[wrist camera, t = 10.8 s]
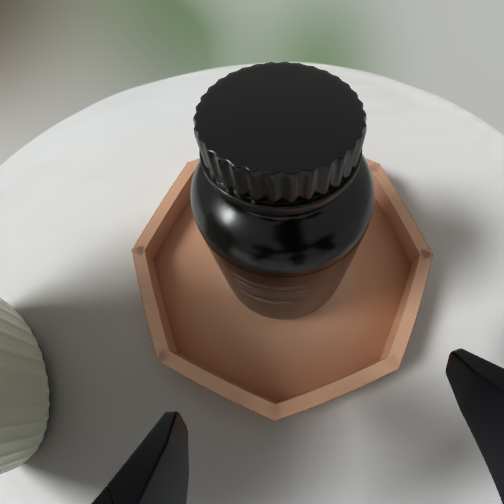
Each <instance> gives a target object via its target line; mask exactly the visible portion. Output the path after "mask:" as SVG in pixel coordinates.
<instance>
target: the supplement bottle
mask: <svg viewBox="0 0 504 504" xmlns="http://www.w3.org/2000/svg"><path fill="white" fill-rule="evenodd" d="M193 121H194V125H195V127H194V134H195V137H196V140H197V143H198V146H199V149H200V160H199V162H198V164H197V166H196V168H195V171H194V174H193V178H192V183H191V191H190V198H191V208H192V212H193V216H194V219H195V221H196V224H197V226H198V229H199V231H200V233H201V235H202V237H203V238H204V240H205V242H206V244H207V246H208V248H209V250H210V251H211V253H212V255H213V257H214V259H215V261H216V262H217V264H218V266H219V268H220V270H221V272H222V273H223V275H224V277H225V279H226V281H227V282H228V284H229V286H230V288H231V289H232V291H233V293H234V294H235V295H236V297H237V298H238V299H239V300H240V301H241V302H242V303H243V304H244V305H245V306H246V307H247V308H249V309H250V310H252V311H253V312H255V313H257V314H259V315H262V316H264V317H268V318H272V319H278V320H290V319H297V318H300V317H304V316H306V315H309V314H311V313H313V312H315V311H316V310H318V309H319V308H321V307H322V306H323V305H324V304H325V303H326V302H327V301H328V300H329V299H330V298H331V297H332V296H333V294H334V293H335V291H336V290H337V288H338V286H339V284H340V283H341V281H342V279H343V277H344V275H345V273H346V271H347V269H348V267H349V265H350V263H351V261H352V259H353V257H354V255H355V253H356V251H357V249H358V247H359V245H360V243H361V241H362V239H363V237H364V235H365V233H366V231H367V228H368V226H369V223H370V220H371V217H372V214H373V210H374V203H375V187H374V181H373V177H372V173H371V171H370V168H369V165H368V163H367V161H366V159H365V157H364V156H363V154H362V146H363V142H364V138H365V134H366V113H365V111H364V110H363V103H362V102H361V101H360V100H359V99H358V95H357V93H356V92H354V91H353V90H352V89H351V88H350V86H349V84H347V83H345V82H343V81H342V80H341V79H340V78H339V77H337V76H334V75H332V74H330V73H329V72H327V71H325V70H320V69H318V68H316V67H314V66H306V65H303V64H300V63H288V62H280V63H274V62H269V63H265V64H256V65H253V66H251V67H245V68H242V69H240V70H238V71H236V72H232V73H229V74H228V75H227V76H226V77H224V78H222V79H219V80H218V81H217V82H216V84H214V85H213V86H211V87H209V88H208V91H207V93H205V94H204V95H203V96H202V97H201V102H200V103H199V104H198V105H197V106H196V114H195V116H194V118H193Z"/></svg>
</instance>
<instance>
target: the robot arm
mask: <svg viewBox="0 0 504 504" xmlns="http://www.w3.org/2000/svg"><path fill="white" fill-rule="evenodd" d="M446 375H447V378H448V380H449V382H450V385H451V387H452V390H453V392H454V395H455V398H456V400H457V403H458V405H459V408H460V410H461V412H462V414H463V416H464V418H465V420H466V422H467V424H468V426H469V428H470V430H471V432H472V434H473V436H474V438H475V440H476V442H477V445H478V447H479V449H480V451H481V453H482V455H483V457H484V460H485V462H486V464H487V466H488V469H489V471H490V473H491V476H492V478H493V480H494V483H495V485H496V488H497V490H498V492H499V495H500V497H501V500H502V503H503V504H504V369H503V368H501V367H499V366H497V365H495V364H493V363H491V362H489V361H487V360H485V359H483V358H480V357H478V356H476V355H474V354H472V353H470V352H468V351H466V350H464V349H457V350H455V351H452V352H451V353H450V355H449V359H448V363H447V367H446ZM188 478H189V458H188V431H187V427H186V425H185V423H184V421H183V419H182V417H181V416H180V414H179V413H178V412H176V411H175V412H166V413H164V414H163V416H162V417H161V418H160V420H159V421H158V422H157V423H156V425H155V426H154V427H153V429H152V430H151V431H150V432H149V434H148V435H147V436H146V438H145V439H144V440H143V441H142V443H141V444H140V445H139V446H138V448H137V449H136V450H135V451H134V453H133V454H132V455H131V456H130V458H129V459H128V460H127V461H126V463H125V464H124V465H123V466H122V468H121V469H120V470H119V471H118V473H117V474H116V475H115V476H114V478H113V479H112V480H111V481H110V483H109V484H108V487H107V486H106V487H105V489H104V490H103V491H102V492H101V493H100V495H99V496H98V497H97V498H96V499H95V500H94V501H93V503H92V504H186V501H187V489H188Z"/></svg>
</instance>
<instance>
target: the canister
mask: <svg viewBox="0 0 504 504" xmlns="http://www.w3.org/2000/svg"><path fill="white" fill-rule="evenodd" d="M49 392H50V390H49V387H48V376H47V374H46V364H45V363H44V361H43V357H42V352H41V350H40V349H39V347H38V342H37V340H36V338H35V337H34V336H33V333H32V330H31V329H30V327H29V326H28V325H27V324H26V322H25V320H24V319H23V318H22V316H21V315H20V314H19V313H17V312H16V311H15V310H14V309H13V307H12V306H10V305H9V304H8V303H7V302H5V301H4V300H2V299H1V298H0V474H2V473H5V472H7V471H10V470H12V469H14V468H17V467H18V466H20V465H21V464H23V463H24V462H26V461H27V460H29V459H30V458H31V456H32V455H33V454H34V453H35V452H36V451H37V450H38V448H39V444H40V443H41V442H42V441H43V438H44V432H45V431H46V429H47V420H48V418H49V406H50V402H49Z"/></svg>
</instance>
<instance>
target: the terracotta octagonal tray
mask: <svg viewBox="0 0 504 504" xmlns="http://www.w3.org/2000/svg"><path fill="white" fill-rule="evenodd" d="M365 159H366V158H365ZM199 160H200V158H199V159H196V160H194V161H191V162H188V163H187V164H186V166H185V167H184V168H183V170H182V171H181V173H180V174H179V176H178V177H177V179H176V180H175V182H174V183H173V185H172V186H171V188H170V189H169V191H168V193H167V194H166V196H165V197H164V199H163V200H162V202H161V203H160V205H159V207H158V208H157V210H156V211H155V213H154V214H153V216H152V218H151V219H150V221H149V223H148V224H147V226H146V227H145V229H144V231H143V232H142V234H141V236H140V237H139V239H138V241H137V242H136V244H135V246H134V248H133V249H132V253H133V259H134V264H135V269H136V274H137V279H138V283H139V288H140V293H141V297H142V302H143V306H144V310H145V314H146V318H147V323H148V327H149V330H150V334H151V338H152V342H153V346H154V349H155V353H156V357H157V361H158V362H160V363H162V364H164V365H166V366H167V367H169V368H171V369H172V370H174V371H176V372H178V373H179V374H181V375H183V376H185V377H187V378H188V379H190V380H192V381H194V382H196V383H198V384H199V385H201V386H203V387H205V388H207V389H209V390H211V391H213V392H215V393H217V394H218V395H220V396H222V397H224V398H226V399H228V400H230V401H232V402H235V403H237V404H239V405H241V406H243V407H245V408H247V409H249V410H251V411H253V412H256V413H258V414H260V415H262V416H265V417H267V418H269V419H271V420H273V421H276V420H279V419H282V418H284V417H287V416H290V415H293V414H296V413H298V412H301V411H304V410H306V409H309V408H312V407H314V406H317V405H319V404H322V403H324V402H327V401H329V400H332V399H334V398H336V397H339V396H341V395H343V394H346V393H348V392H350V391H353V390H355V389H357V388H359V387H361V386H364V385H366V384H368V383H370V382H372V381H374V380H376V379H378V378H380V377H382V376H384V375H387V374H389V373H390V372H392V371H394V370H398V368H399V366H400V363H401V360H402V358H403V355H404V352H405V349H406V346H407V344H408V341H409V338H410V335H411V332H412V329H413V325H414V322H415V319H416V316H417V313H418V309H419V306H420V302H421V299H422V295H423V292H424V288H425V284H426V280H427V277H428V273H429V268H430V264H431V260H432V256H433V254H432V253H431V251H430V249H429V247H428V245H427V243H426V241H425V239H424V237H423V235H422V234H421V232H420V230H419V228H418V226H417V225H416V223H415V221H414V219H413V218H412V216H411V214H410V212H409V211H408V209H407V207H406V206H405V204H404V202H403V201H402V199H401V197H400V196H399V194H398V192H397V191H396V189H395V187H394V186H393V184H392V183H391V181H390V180H389V178H388V176H387V175H386V173H385V172H384V170H383V169H382V167H381V166H380V164H379V163H376V162H374V161H371V160H369V159H366V161H367V163H368V165H369V168H370V171H371V173H372V177H373V181H374V187H375V203H374V210H373V214H372V217H371V220H370V223H369V226H368V228H367V231H366V233H365V235H364V237H363V239H362V241H361V243H360V245H359V247H358V249H357V251H356V253H355V255H354V257H353V259H352V261H351V263H350V265H349V267H348V269H347V271H346V273H345V275H344V277H343V279H342V281H341V283H340V284H339V286H338V288H337V290H336V291H335V293H334V294H333V296H332V297H331V298H330V299H329V300H328V301H327V302H326V303H325V304H324V305H323V306H322V307H321V308H319V309H318V310H316V311H315V312H313V313H311V314H309V315H306V316H304V317H300V318H297V319H290V320H278V319H272V318H268V317H264V316H262V315H259V314H257V313H255V312H253V311H252V310H250V309H249V308H247V307H246V306H245V305H244V304H243V303H242V302H241V301H240V300H239V299H238V298H237V297H236V295H235V294H234V293H233V291H232V289H231V288H230V286H229V284H228V282H227V281H226V279H225V277H224V275H223V273H222V272H221V270H220V268H219V266H218V264H217V262H216V261H215V259H214V257H213V255H212V253H211V251H210V250H209V248H208V246H207V244H206V242H205V240H204V238H203V237H202V235H201V233H200V231H199V229H198V226H197V224H196V221H195V219H194V216H193V212H192V208H191V198H190V191H191V183H192V178H193V174H194V171H195V168H196V166H197V164H198V162H199Z"/></svg>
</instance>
